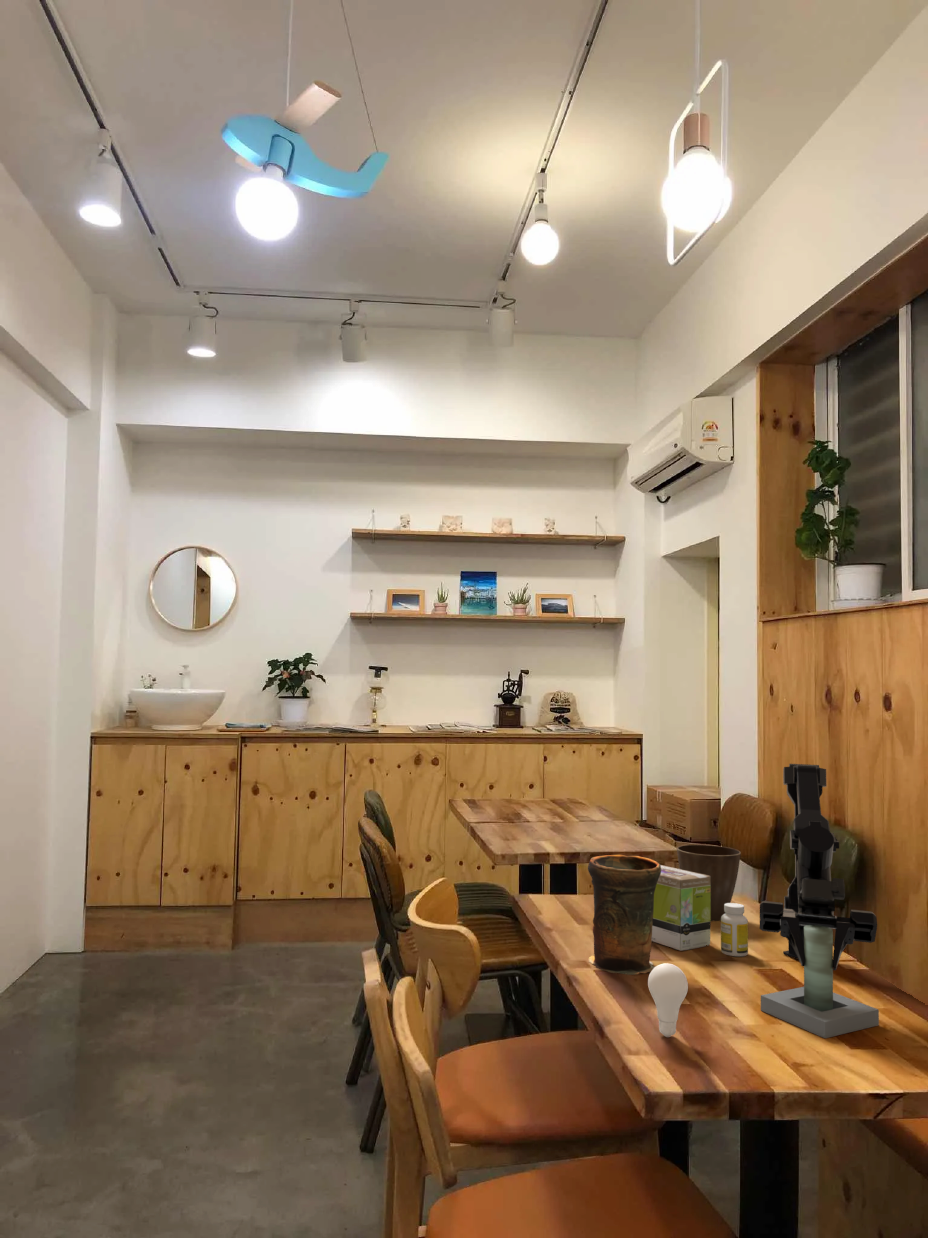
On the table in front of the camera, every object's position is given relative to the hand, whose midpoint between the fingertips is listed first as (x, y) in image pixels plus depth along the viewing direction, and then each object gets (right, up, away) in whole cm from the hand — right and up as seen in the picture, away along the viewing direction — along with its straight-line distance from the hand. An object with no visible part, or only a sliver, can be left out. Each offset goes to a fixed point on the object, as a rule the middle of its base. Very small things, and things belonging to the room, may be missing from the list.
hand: (818, 967), depth 145 cm
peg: (0, -7, +1) cm, 7 cm away
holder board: (0, -9, +1) cm, 9 cm away
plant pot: (0, -14, +64) cm, 66 cm away
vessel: (-28, -10, +27) cm, 40 cm away
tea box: (-15, -12, +44) cm, 48 cm away
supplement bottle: (-3, -12, +36) cm, 38 cm away
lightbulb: (-27, -7, -9) cm, 30 cm away
